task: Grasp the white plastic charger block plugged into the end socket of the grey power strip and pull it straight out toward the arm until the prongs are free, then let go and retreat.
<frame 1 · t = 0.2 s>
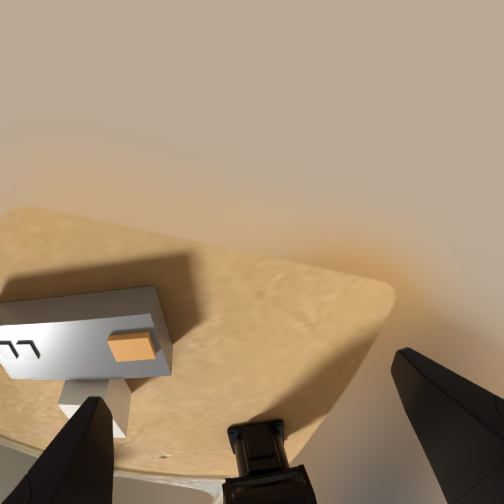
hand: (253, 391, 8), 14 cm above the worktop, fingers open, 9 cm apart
charger: (102, 377, 26), on the worktop
power strip: (76, 325, 23), on the worktop
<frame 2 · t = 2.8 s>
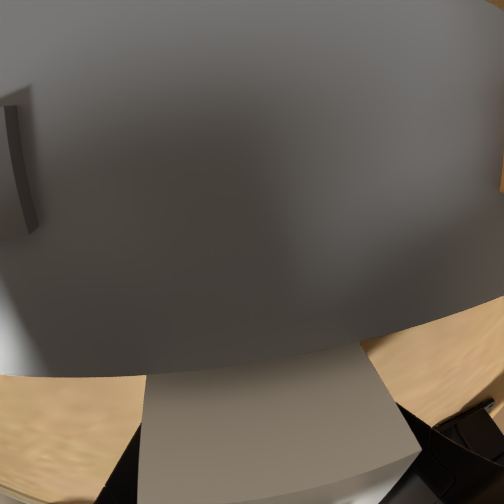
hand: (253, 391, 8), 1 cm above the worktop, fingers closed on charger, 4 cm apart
charger: (247, 359, 10), on the worktop, touching gripper
power strip: (224, 140, 7), on the worktop
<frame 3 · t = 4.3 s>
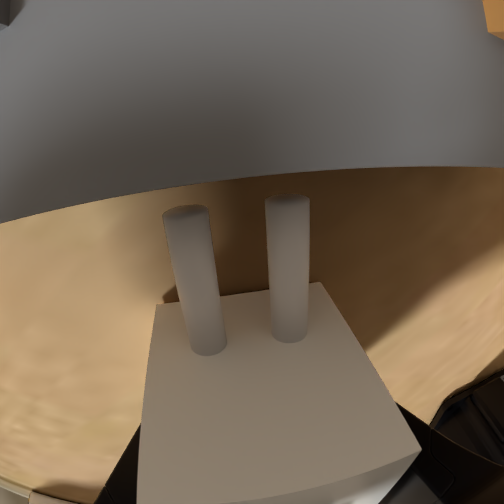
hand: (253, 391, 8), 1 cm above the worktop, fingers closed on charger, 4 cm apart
charger: (246, 359, 10), on the worktop, touching gripper
power strip: (204, 21, 5), on the worktop
when the fingers open (2 cm above the worktop, at t = 6.0 s): charger stays where it is, on the worktop.
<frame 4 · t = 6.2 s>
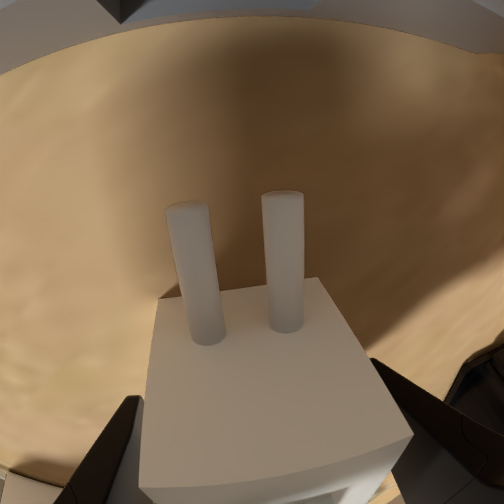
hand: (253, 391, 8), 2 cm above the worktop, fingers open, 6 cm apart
charger: (246, 352, 10), on the worktop
medicine bottle: (61, 496, 15), on the worktop
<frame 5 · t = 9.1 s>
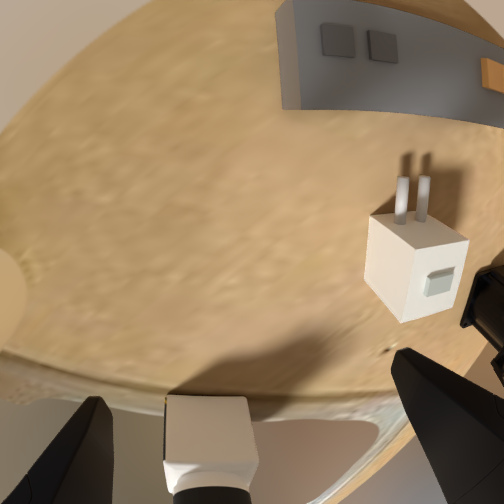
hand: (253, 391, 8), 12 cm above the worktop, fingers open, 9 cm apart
charger: (392, 244, 21), on the worktop
medicine bottle: (204, 415, 27), on the worktop
power strip: (399, 68, 16), on the worktop
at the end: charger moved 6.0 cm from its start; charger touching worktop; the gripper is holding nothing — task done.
